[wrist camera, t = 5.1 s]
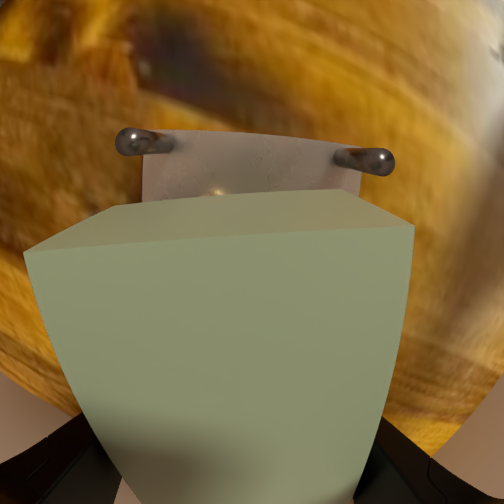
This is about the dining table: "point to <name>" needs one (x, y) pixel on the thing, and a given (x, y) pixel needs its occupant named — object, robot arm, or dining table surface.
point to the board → (230, 339)
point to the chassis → (245, 163)
